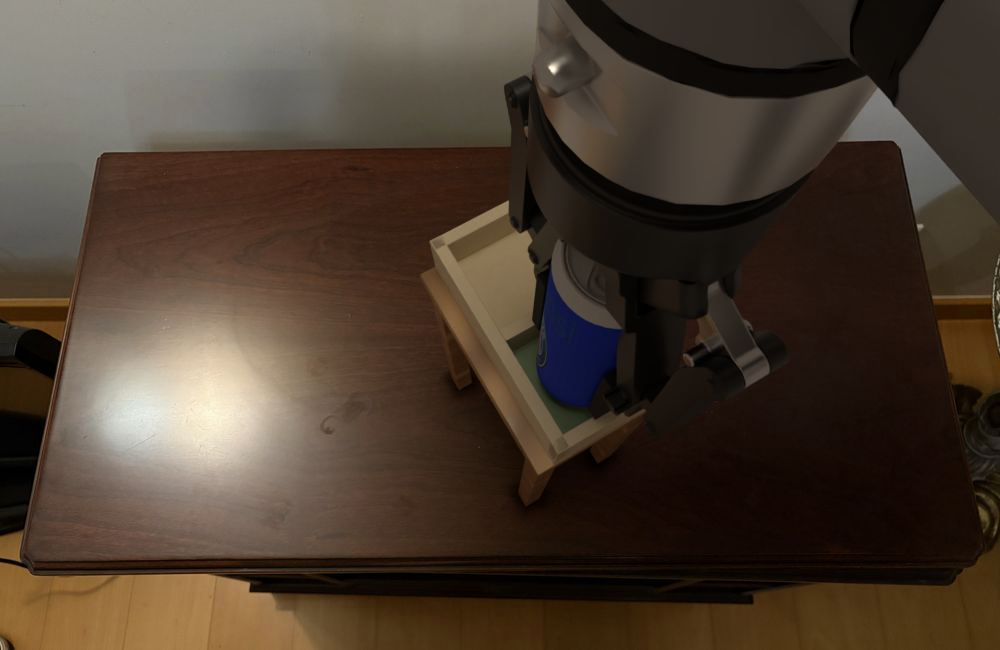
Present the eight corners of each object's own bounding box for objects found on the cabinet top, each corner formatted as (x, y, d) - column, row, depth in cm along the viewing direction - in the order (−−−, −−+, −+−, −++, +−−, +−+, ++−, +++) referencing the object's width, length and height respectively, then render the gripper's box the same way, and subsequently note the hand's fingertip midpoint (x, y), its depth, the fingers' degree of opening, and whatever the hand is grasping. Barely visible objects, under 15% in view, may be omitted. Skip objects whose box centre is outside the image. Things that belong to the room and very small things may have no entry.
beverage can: (563, 308, 42) (593, 174, 28) (640, 350, 41) (712, 234, 27) (519, 380, 41) (527, 277, 26) (598, 426, 40) (651, 345, 26)
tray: (661, 400, 43) (676, 384, 40) (553, 464, 42) (558, 454, 38) (537, 214, 48) (539, 183, 44) (435, 267, 46) (429, 240, 43)
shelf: (614, 456, 68) (677, 392, 44) (525, 510, 67) (538, 475, 42) (533, 329, 72) (550, 205, 48) (448, 376, 71) (419, 274, 46)
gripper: (379, -98, 19) (445, 259, 41) (792, 489, 14) (616, 540, 36) (609, -196, 21) (555, 201, 42) (1069, 311, 15) (736, 465, 37)
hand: (583, 356), depth 39 cm, fingers closed on beverage can, 5 cm apart
